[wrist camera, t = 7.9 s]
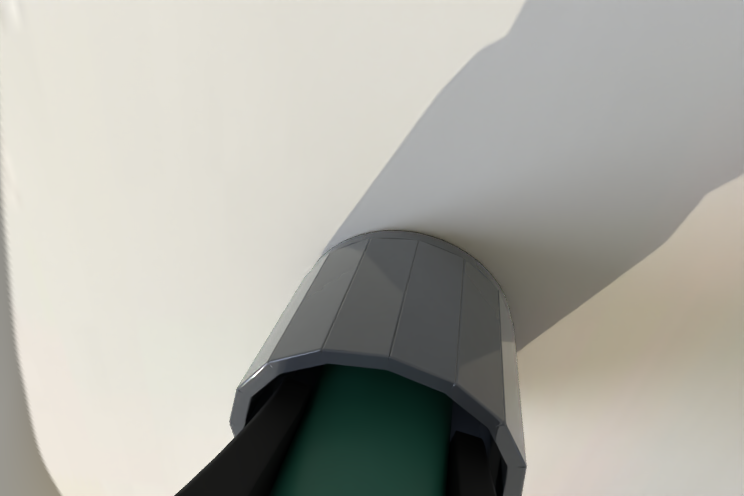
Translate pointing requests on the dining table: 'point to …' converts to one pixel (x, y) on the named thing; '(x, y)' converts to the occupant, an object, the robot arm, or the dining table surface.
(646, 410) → the dining table surface
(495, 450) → the cup
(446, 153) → the dining table surface
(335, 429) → the cylinder
